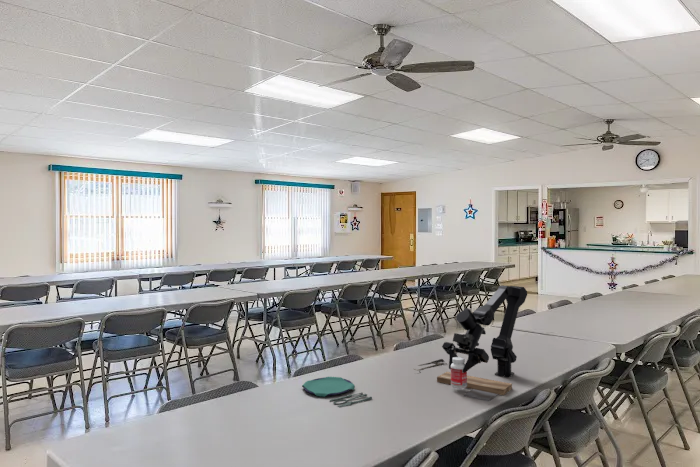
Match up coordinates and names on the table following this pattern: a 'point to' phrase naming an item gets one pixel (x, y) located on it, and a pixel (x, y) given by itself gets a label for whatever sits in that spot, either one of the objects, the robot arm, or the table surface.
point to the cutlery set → (333, 389)
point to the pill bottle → (458, 373)
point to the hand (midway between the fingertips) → (456, 370)
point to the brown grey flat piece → (480, 386)
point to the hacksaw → (432, 365)
